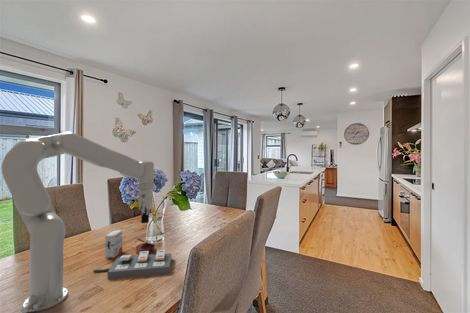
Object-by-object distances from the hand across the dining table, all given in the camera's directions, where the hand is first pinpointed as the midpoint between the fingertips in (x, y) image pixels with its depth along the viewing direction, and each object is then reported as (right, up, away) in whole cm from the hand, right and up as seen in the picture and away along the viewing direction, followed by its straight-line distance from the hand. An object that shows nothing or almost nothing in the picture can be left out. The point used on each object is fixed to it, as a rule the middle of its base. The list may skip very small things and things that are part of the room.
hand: (145, 222), depth 108 cm
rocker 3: (+8, -16, 0) cm, 18 cm away
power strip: (-4, -21, -5) cm, 22 cm away
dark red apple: (-6, -21, +14) cm, 26 cm away
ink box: (-21, -21, +10) cm, 31 cm away
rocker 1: (-8, -16, -4) cm, 18 cm away
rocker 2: (0, -16, -2) cm, 16 cm away
